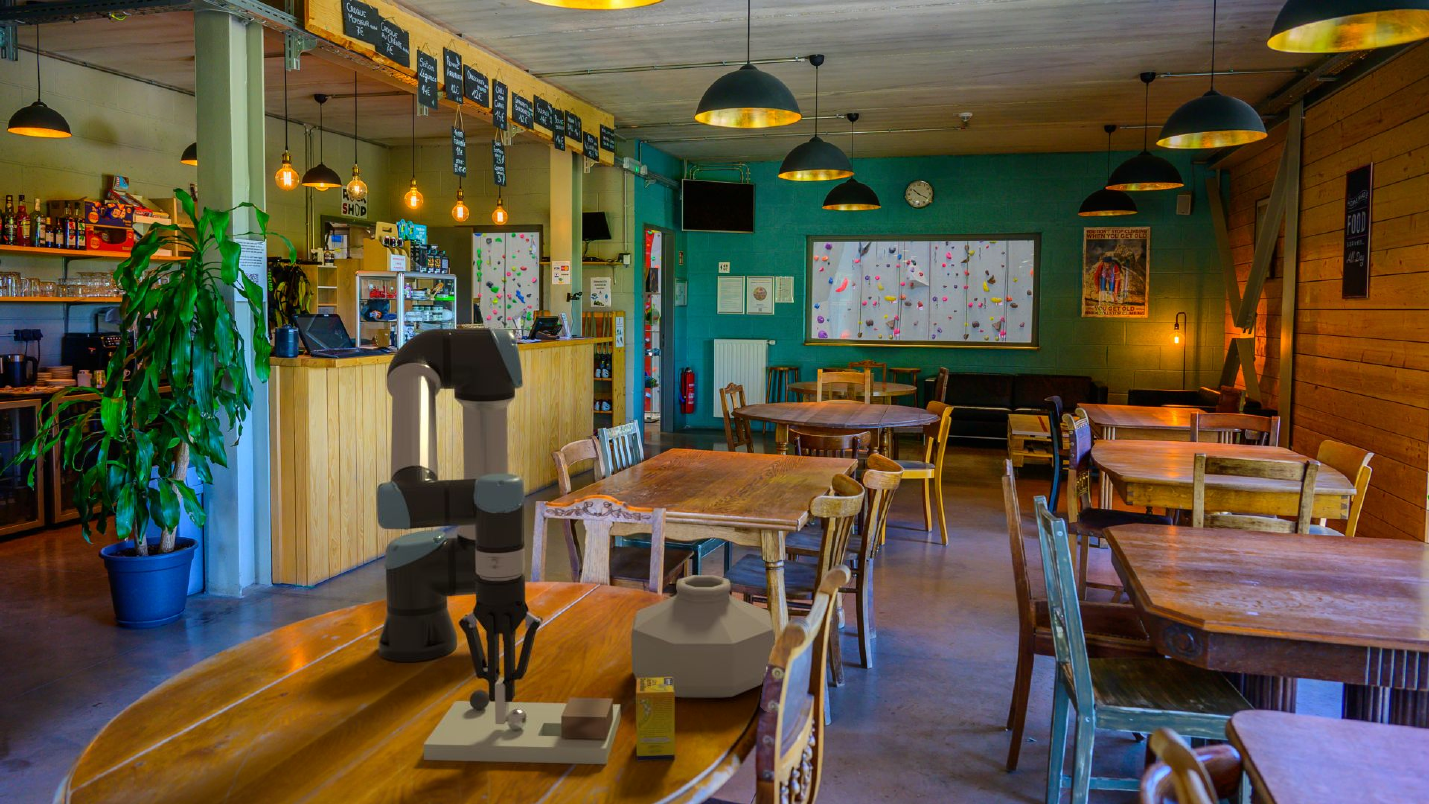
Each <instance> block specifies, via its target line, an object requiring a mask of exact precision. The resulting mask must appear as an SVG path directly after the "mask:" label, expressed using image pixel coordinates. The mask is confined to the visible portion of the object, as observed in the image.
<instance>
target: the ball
mask: <svg viewBox="0 0 1429 804" xmlns="http://www.w3.org/2000/svg"><path fill="white" fill-rule="evenodd" d="M526 723H527V715H526V713H525V712H524V711H523V710H521V709H514V710H512V711H511V712H510V713H509V714H508V716H507V725H508V726H509V727H510V728H511V729H513V730H520V729H522V728H523V727H524V726H525V725H526Z"/></svg>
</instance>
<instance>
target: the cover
mask: <svg viewBox="0 0 1429 804" xmlns="http://www.w3.org/2000/svg"><path fill="white" fill-rule="evenodd" d="M566 703H567V705H566V707H565V709H564V711H563V713H562V716H561V738H583V739H607V736H608V733H609V730H610V727H611V724H612V721H613V704H614V698H607V697H606V698H605V697H604V698H600V697H597V698H595V697H569V698H568V700H567V702H566Z"/></svg>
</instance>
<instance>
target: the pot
mask: <svg viewBox="0 0 1429 804" xmlns="http://www.w3.org/2000/svg"><path fill="white" fill-rule="evenodd" d="M675 586H676V589H675V590H676V594H675V595H673V596H672V597H670V598H667V599H665V600H662V601H660V602H657V603H655V604H651V605H649V606H646V607H644V608H641V609H638V610H637V611H636V613H635V616H634V620H633V625H632V629H631V633H630V638H631V639H630V641H631V642H630V643H631V644H630V645H631V670H632V672H633V674H634V678H635V680H636V679H637V678H658V677H672V678H673V685H674V692H675V698H677V697H679V698H680V699H721V698H722V699H724V698H732V697H735V696H737V695H740V694H741V693H745V692H747V691H749V690H751V689H754V688H756V687H758V686H760V685H763V684H762V681H763V676H764V674H765V673H766V667H767V663H768V661H769V655H770V653H771V651H772V647H773V646H774V645H775V646H776V632H775V628H774V623H773V618H772V615H771V613H770V611H769V610H767V609H764V608H763V607H759V606H757V605H754V604H751V603H749V602H746V601H745V600H741V599H739V598H737V597H735V596H732V595H731V594H730V591H731V590H732V587H731V581H730V579H728V578H725V577H721V576H719V575H714V574H713V575H711V574H703V575H701V574H699V575H698V574H695V575H694V574H693V575H689V576H686V577H682V578H678V579H677V581H676V585H675Z"/></svg>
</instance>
